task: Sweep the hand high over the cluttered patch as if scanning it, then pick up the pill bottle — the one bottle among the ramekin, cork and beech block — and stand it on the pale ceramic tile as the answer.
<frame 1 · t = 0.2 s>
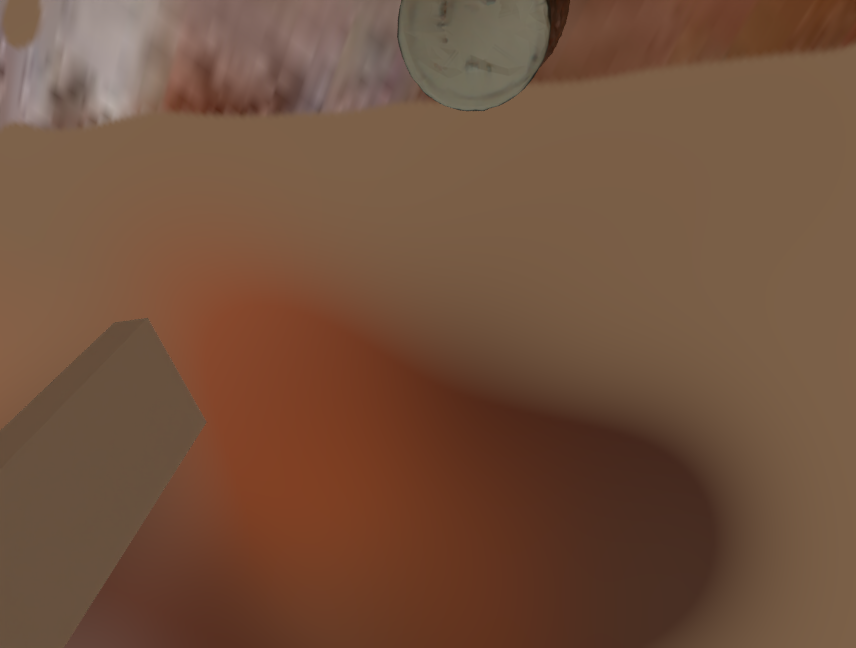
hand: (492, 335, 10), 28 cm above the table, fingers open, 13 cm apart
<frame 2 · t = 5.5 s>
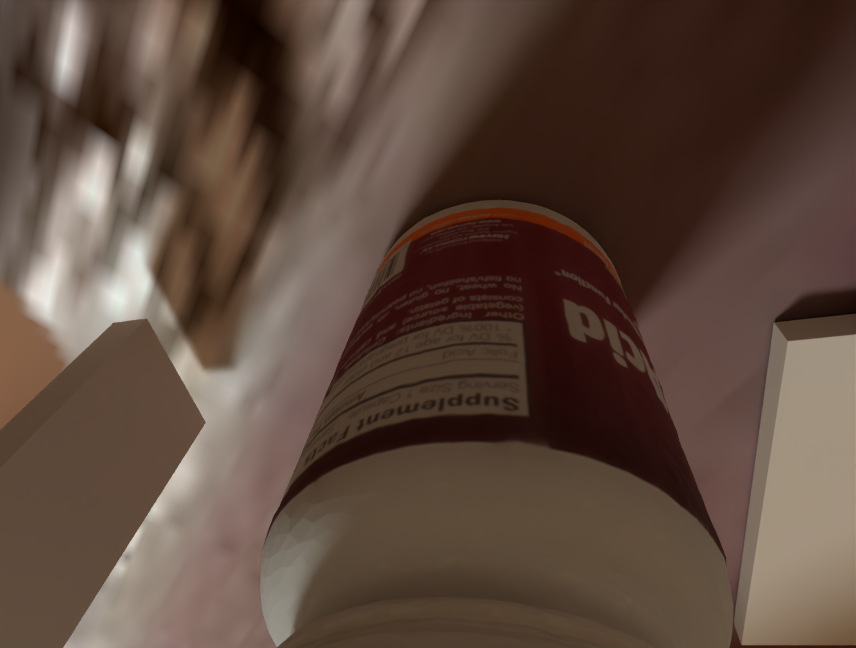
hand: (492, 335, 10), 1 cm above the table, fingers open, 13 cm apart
pill bottle: (493, 303, 11), on the table
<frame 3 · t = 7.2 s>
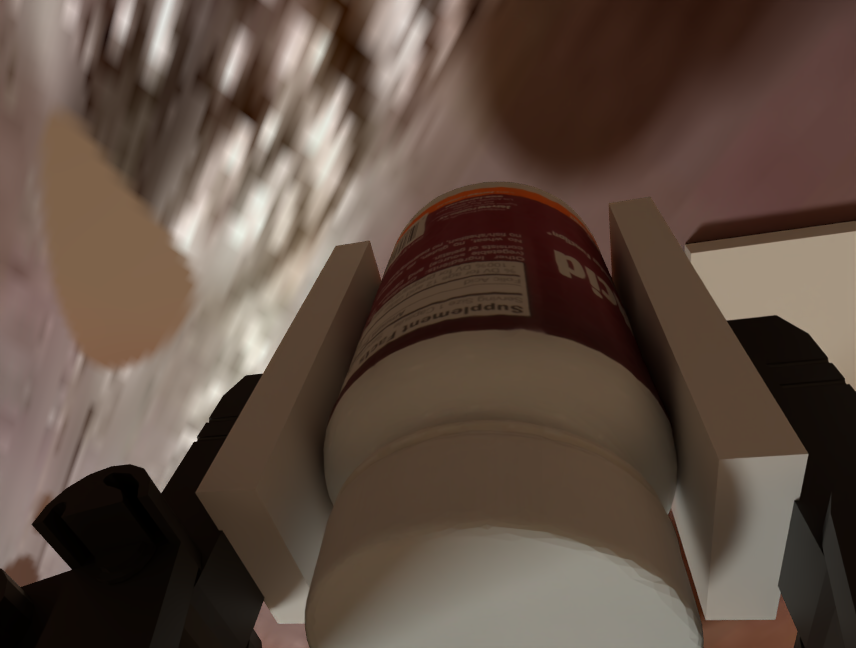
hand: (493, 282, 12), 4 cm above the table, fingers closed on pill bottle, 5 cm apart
pill bottle: (493, 273, 13), point 3 cm above the table, touching gripper
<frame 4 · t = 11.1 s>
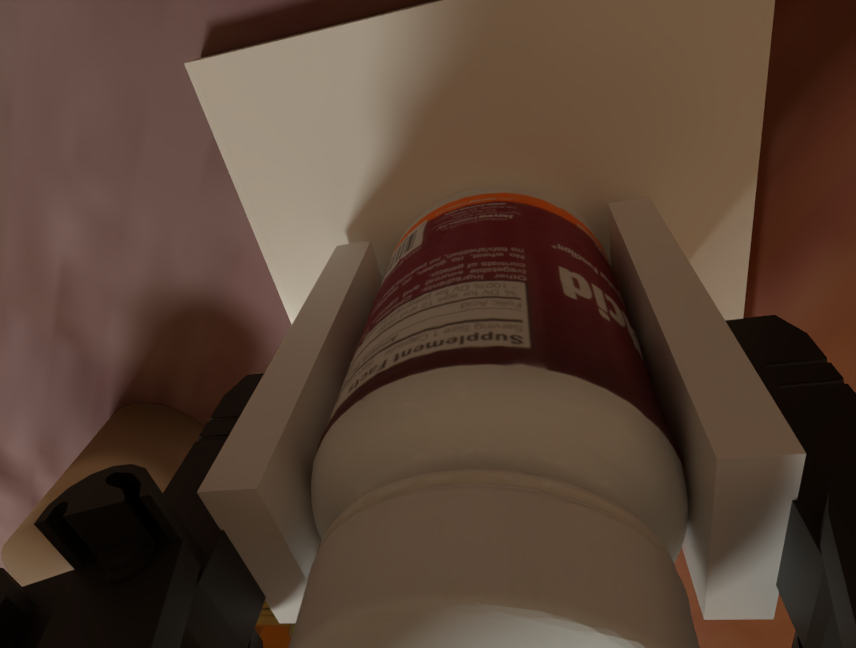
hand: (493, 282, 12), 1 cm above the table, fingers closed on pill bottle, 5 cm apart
pill bottle: (496, 280, 12), resting on tile, touching gripper
tile: (495, 252, 12), on the table
sauce bottle: (319, 593, 21), on the table
cork: (165, 446, 17), on the table
when the fingers open (1 cm above the table, at t = 11.3 s): pill bottle stays where it is, resting on tile.
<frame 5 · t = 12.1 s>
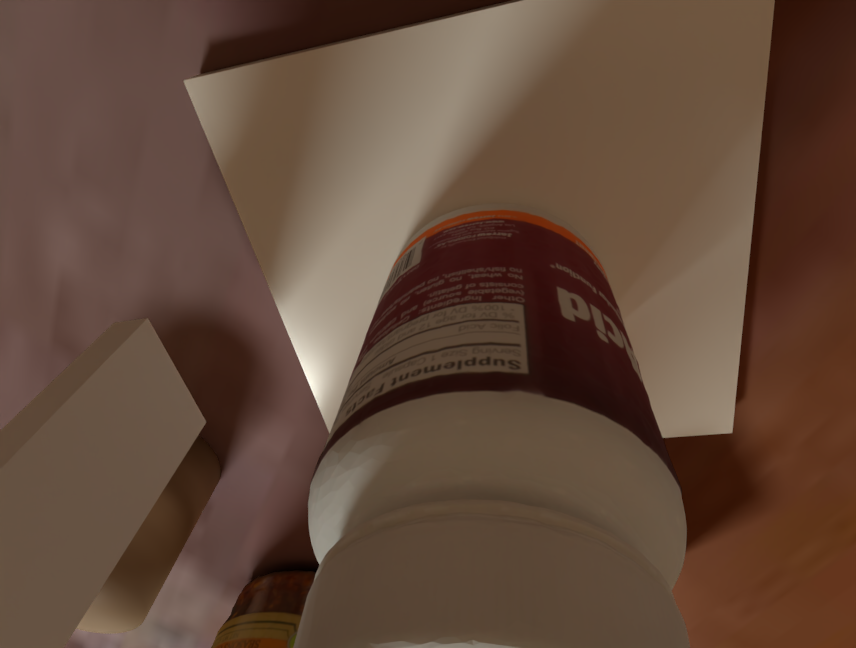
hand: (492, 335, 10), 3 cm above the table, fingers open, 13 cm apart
pill bottle: (495, 295, 12), resting on tile
tile: (494, 266, 12), on the table
sauce bottle: (318, 604, 21), on the table
cork: (163, 458, 17), on the table
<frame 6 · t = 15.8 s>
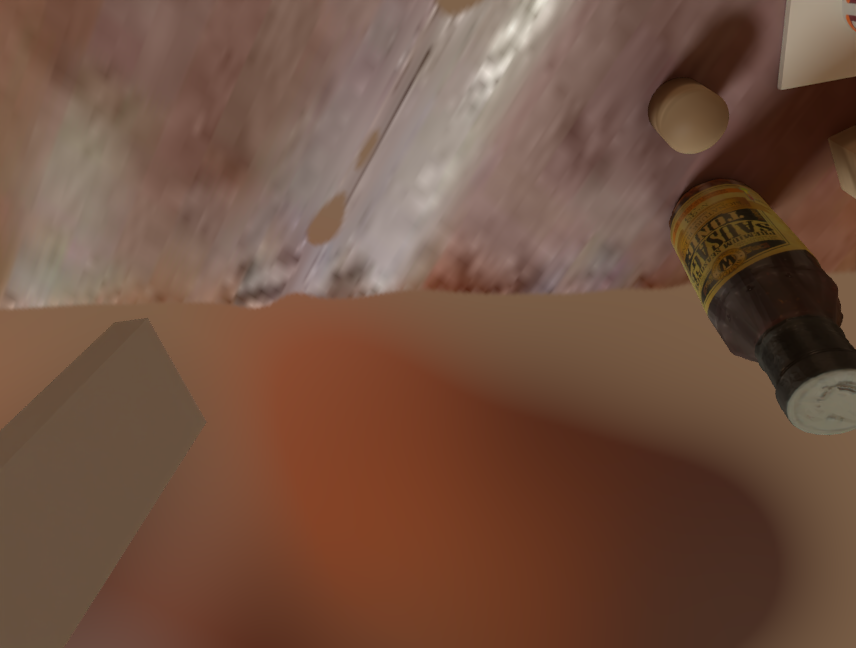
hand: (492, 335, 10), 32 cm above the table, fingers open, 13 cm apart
sauce bottle: (707, 217, 41), on the table
cork: (676, 106, 37), on the table
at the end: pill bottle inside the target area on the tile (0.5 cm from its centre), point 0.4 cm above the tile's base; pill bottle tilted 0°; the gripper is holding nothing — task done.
